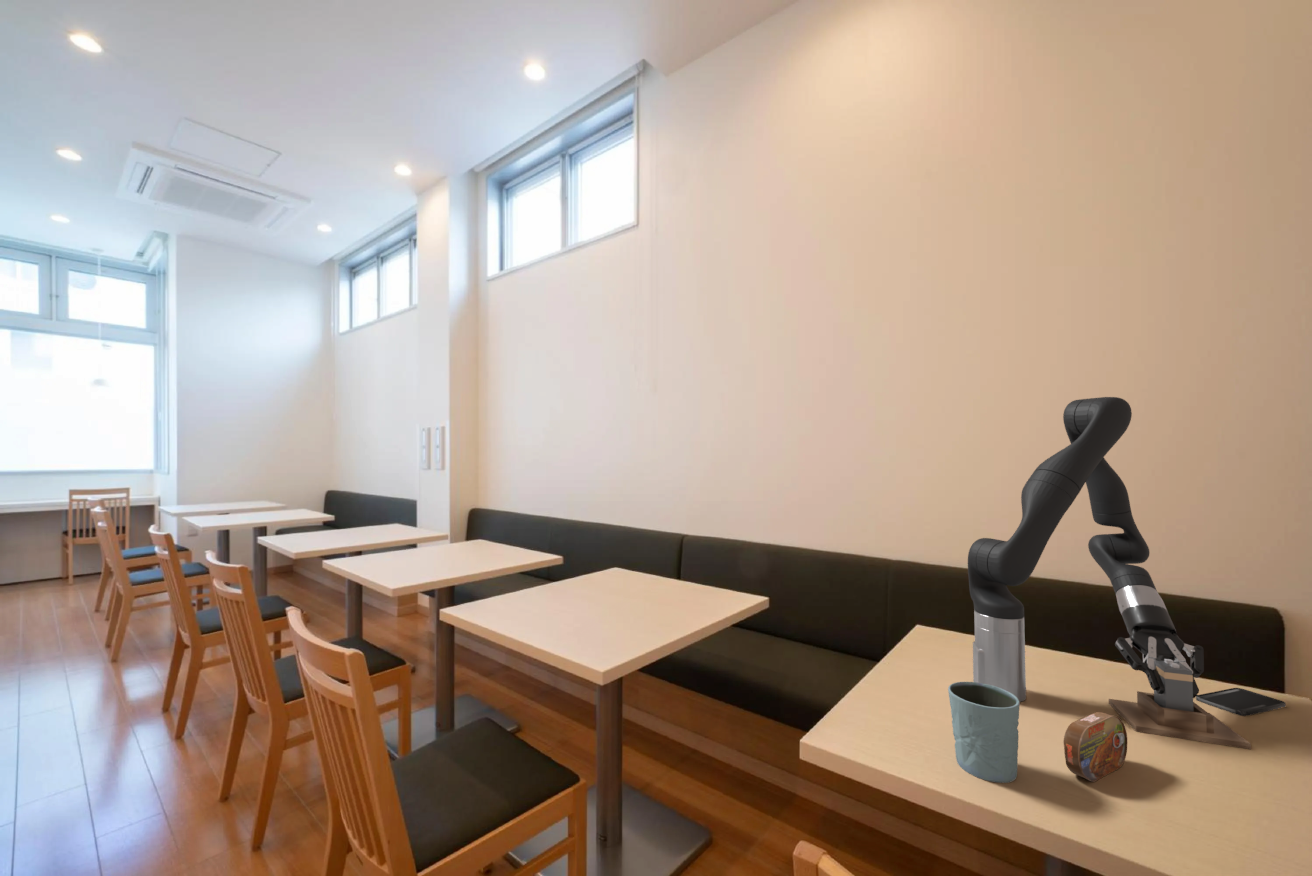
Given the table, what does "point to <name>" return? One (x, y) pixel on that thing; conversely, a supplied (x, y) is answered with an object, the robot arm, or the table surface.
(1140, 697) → the dock
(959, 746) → the teal embossed cup
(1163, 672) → the cell
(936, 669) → the table surface
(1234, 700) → the phone
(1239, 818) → the table surface
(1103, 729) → the tin
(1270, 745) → the table surface
